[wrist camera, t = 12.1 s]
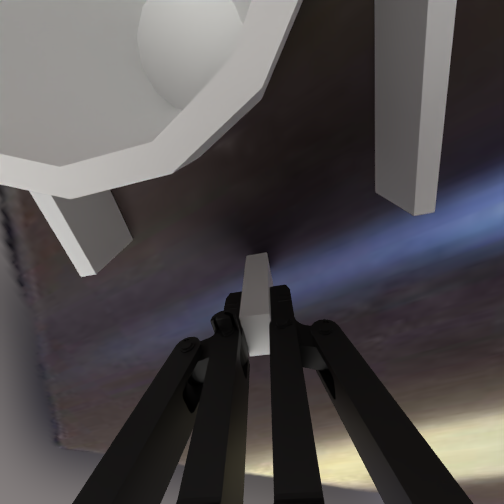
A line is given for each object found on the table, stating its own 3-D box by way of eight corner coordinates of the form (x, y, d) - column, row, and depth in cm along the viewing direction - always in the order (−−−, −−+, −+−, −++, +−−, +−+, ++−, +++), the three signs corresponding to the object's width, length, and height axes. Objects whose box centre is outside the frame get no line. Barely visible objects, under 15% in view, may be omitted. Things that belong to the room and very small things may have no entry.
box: (390, 189, 17) (434, 212, 13) (121, 242, 20) (81, 276, 15) (399, -197, 10) (501, -430, 6) (-17, -41, 13) (-163, -127, 8)
